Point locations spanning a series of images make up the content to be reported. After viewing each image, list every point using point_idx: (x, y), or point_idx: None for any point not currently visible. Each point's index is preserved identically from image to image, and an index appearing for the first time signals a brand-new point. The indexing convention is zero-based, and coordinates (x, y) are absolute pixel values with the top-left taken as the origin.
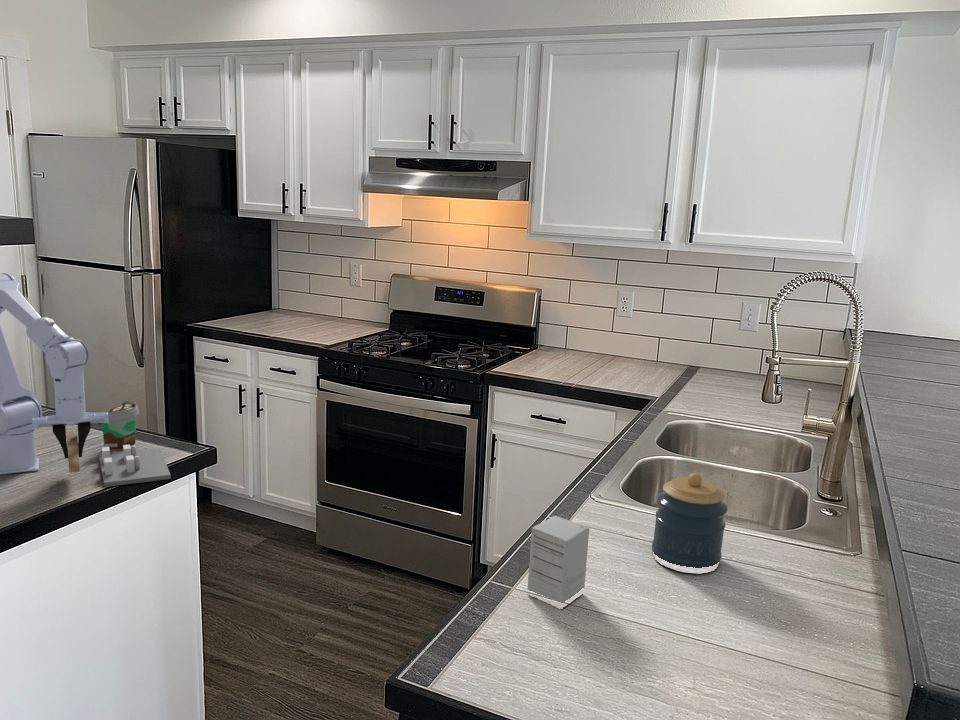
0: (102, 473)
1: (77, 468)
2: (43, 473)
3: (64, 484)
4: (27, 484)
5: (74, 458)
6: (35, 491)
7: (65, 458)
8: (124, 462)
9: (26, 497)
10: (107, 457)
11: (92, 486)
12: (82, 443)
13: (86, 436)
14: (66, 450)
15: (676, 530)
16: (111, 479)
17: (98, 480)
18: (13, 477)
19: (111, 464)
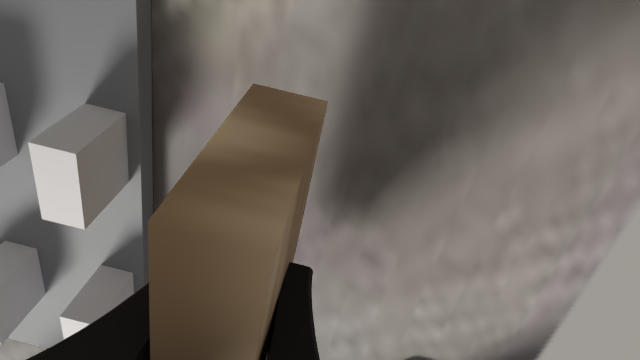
0: (141, 155)
1: (260, 98)
2: (392, 330)
3: (350, 154)
4: (506, 253)
5: (253, 147)
6: (519, 138)
7: (308, 267)
8: (35, 235)
9: (609, 69)
10: (95, 290)
11: (217, 33)
12: (127, 311)
13: (35, 358)
14: (285, 308)
15: None
16: (90, 17)
17: (176, 112)
18: (516, 354)
19: (46, 133)
